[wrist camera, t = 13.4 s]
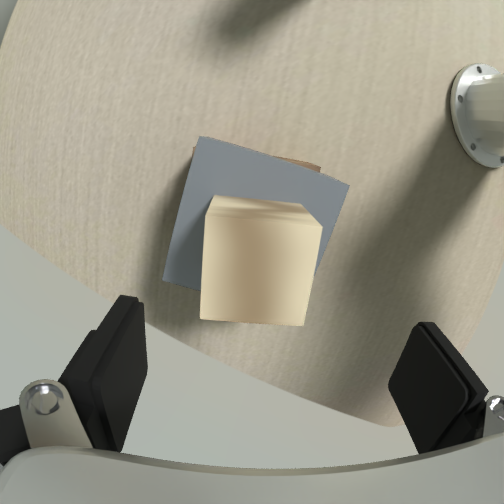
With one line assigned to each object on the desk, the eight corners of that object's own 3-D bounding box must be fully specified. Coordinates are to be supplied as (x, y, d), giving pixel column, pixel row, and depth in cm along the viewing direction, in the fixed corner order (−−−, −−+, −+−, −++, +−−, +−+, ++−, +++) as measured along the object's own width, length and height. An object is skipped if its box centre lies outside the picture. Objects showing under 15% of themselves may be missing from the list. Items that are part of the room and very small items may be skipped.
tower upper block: (329, 175, 24) (349, 185, 20) (287, 285, 28) (297, 315, 23) (207, 136, 23) (199, 136, 18) (174, 254, 26) (161, 280, 21)
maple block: (300, 203, 20) (322, 227, 15) (288, 282, 22) (303, 325, 17) (213, 195, 20) (205, 215, 14) (208, 275, 21) (199, 318, 16)
